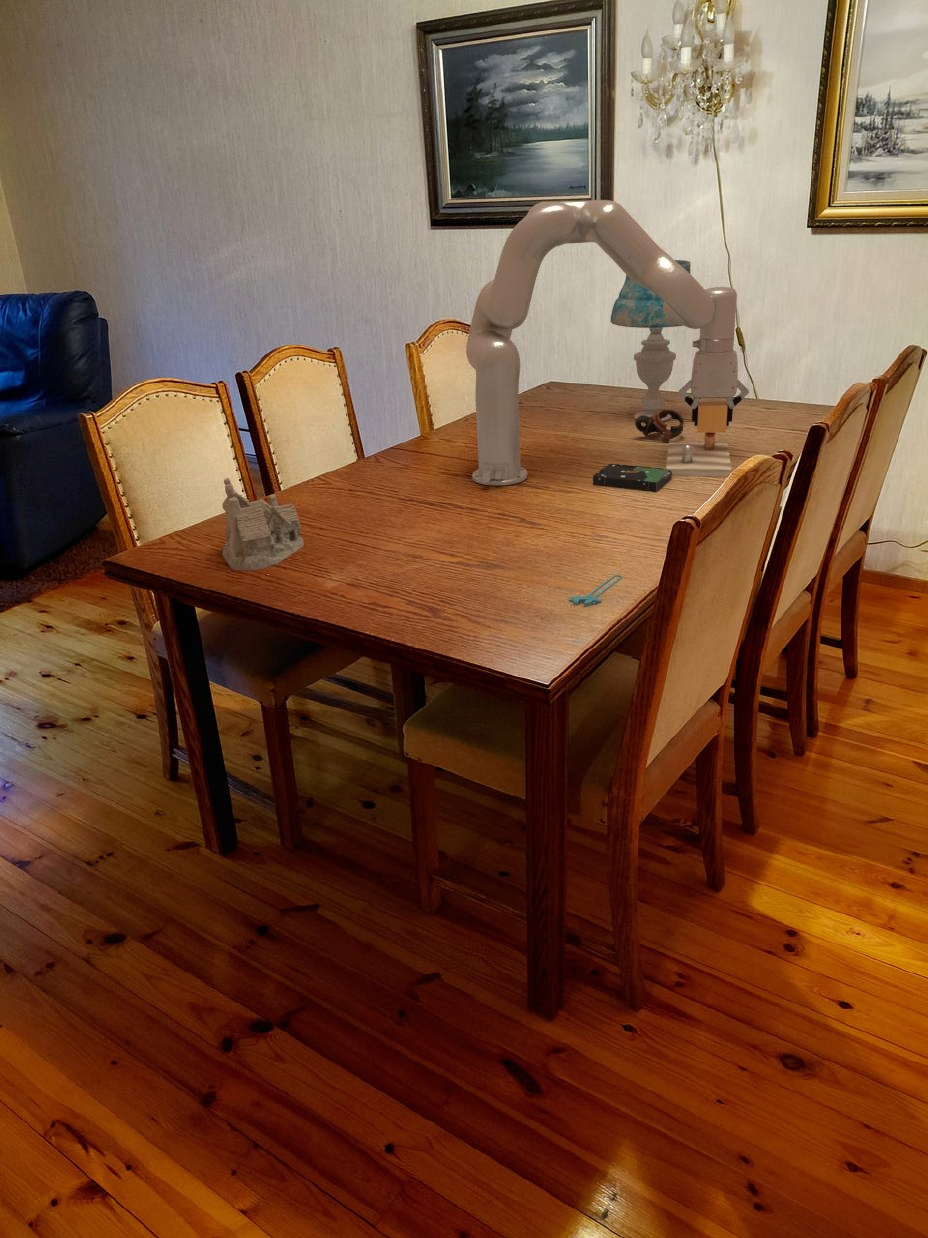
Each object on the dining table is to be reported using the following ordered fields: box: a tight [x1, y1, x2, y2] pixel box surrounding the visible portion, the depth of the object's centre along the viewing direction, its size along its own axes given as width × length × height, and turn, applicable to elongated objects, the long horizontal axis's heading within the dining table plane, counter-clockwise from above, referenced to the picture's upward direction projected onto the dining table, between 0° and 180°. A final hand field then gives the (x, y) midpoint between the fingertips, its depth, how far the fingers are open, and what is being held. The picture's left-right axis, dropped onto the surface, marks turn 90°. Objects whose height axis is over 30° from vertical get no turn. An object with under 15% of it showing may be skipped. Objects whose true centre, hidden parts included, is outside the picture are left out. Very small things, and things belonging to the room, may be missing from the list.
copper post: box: [703, 432, 717, 451], centre depth 216 cm, size 2×2×4 cm
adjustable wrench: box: [568, 574, 623, 607], centre depth 151 cm, size 14×1×5 cm
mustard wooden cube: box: [696, 399, 728, 433], centre depth 213 cm, size 6×6×6 cm
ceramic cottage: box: [221, 477, 305, 572], centre depth 172 cm, size 16×16×15 cm
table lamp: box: [610, 259, 692, 422], centre depth 243 cm, size 24×24×40 cm
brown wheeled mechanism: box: [634, 408, 685, 443], centre depth 232 cm, size 12×10×8 cm
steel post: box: [682, 444, 694, 464], centre depth 207 cm, size 2×2×4 cm
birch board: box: [666, 442, 732, 478], centre depth 213 cm, size 22×14×2 cm, turn 167°
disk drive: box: [592, 463, 673, 493], centre depth 202 cm, size 10×3×15 cm
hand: (711, 423), depth 214 cm, fingers closed on mustard wooden cube, 6 cm apart
